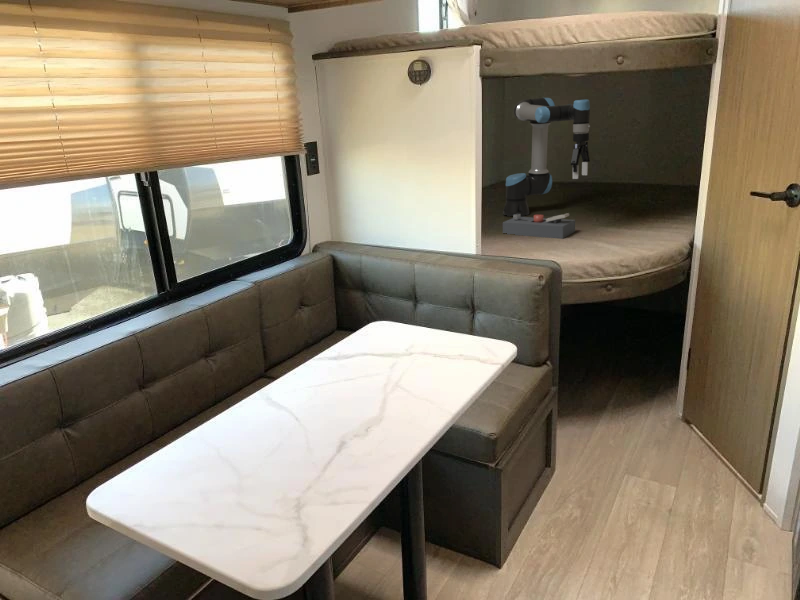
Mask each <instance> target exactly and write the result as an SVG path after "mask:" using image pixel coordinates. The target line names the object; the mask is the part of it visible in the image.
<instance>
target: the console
mask: <svg viewBox="0 0 800 600" xmlns="http://www.w3.org/2000/svg"><path fill="white" fill-rule="evenodd" d="M548 218H549V217H547V218H546V217H543V222H542V223H538V222H534V216H533V217H530V216H528V217H527V216H520V219H518V220H513V217H512V218H509V219H507V220H504V221H503V222H502V234H503V233H507V234H506V235H510V234H515V235H514V236H522V235H523V237H526V236H527V237H534V238H535V237H539V238H551V239H565V238H566V237H568V236H570V235H572V234H573V233H575V232H576V219H566V218H561V219H556V220H552V221H547V222H546V219H548Z"/></svg>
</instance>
